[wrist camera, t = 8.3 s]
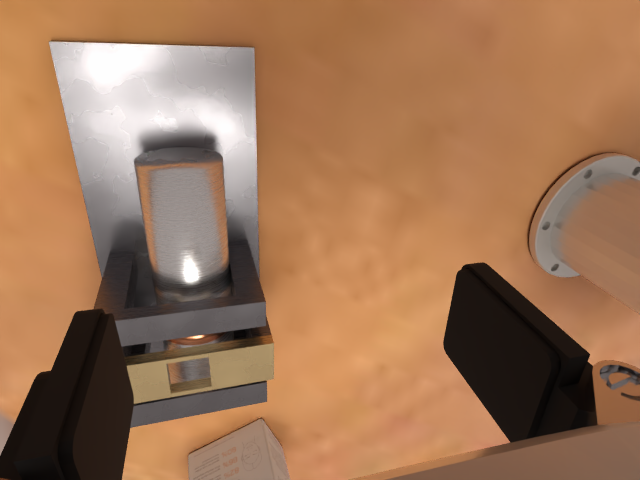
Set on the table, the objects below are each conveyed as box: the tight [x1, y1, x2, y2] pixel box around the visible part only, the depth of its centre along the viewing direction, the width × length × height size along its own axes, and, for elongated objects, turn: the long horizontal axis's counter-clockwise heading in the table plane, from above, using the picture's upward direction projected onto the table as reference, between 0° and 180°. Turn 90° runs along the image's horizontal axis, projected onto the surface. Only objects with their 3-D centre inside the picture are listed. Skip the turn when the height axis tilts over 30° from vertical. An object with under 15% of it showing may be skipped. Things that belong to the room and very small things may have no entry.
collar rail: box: [49, 41, 274, 428], centre depth 27 cm, size 11×25×9 cm, turn 177°
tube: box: [134, 147, 234, 384], centre depth 29 cm, size 18×5×5 cm, turn 177°
